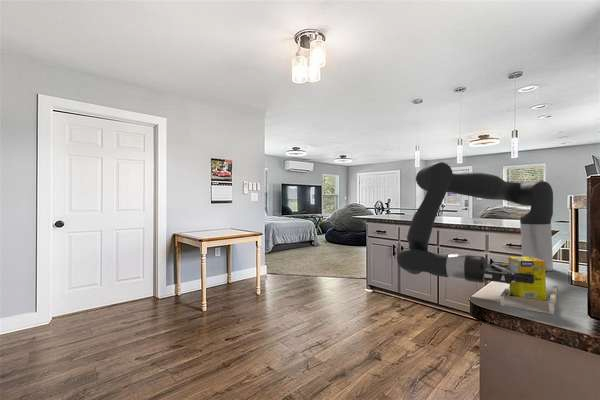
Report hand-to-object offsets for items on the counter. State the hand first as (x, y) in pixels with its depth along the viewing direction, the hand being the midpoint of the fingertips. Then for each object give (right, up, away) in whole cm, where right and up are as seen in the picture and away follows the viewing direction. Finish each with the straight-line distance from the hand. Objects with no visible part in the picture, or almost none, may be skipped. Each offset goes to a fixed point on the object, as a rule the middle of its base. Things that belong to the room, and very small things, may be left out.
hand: (535, 275), depth 78 cm
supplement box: (-1, -7, +1) cm, 7 cm away
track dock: (+3, -7, +5) cm, 9 cm away
